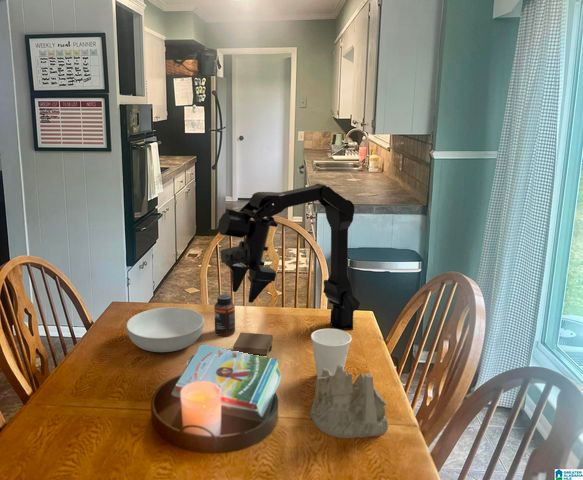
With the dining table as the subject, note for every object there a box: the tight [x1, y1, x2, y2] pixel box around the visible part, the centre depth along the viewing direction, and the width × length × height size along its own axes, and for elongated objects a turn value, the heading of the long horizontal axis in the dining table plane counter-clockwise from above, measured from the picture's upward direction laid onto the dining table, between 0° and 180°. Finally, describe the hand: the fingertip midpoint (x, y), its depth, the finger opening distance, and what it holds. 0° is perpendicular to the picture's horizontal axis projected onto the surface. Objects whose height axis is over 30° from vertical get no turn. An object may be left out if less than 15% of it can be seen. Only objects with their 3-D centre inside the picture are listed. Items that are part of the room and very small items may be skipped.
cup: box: [310, 328, 353, 378], centre depth 128 cm, size 10×10×11 cm
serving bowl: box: [125, 306, 205, 353], centre depth 144 cm, size 21×21×7 cm
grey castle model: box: [309, 365, 389, 439], centre depth 112 cm, size 16×16×15 cm
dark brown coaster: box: [232, 331, 274, 357], centre depth 140 cm, size 9×9×4 cm
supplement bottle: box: [213, 294, 236, 337], centre depth 152 cm, size 6×6×11 cm
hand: (242, 297), depth 138 cm, fingers open, 9 cm apart
